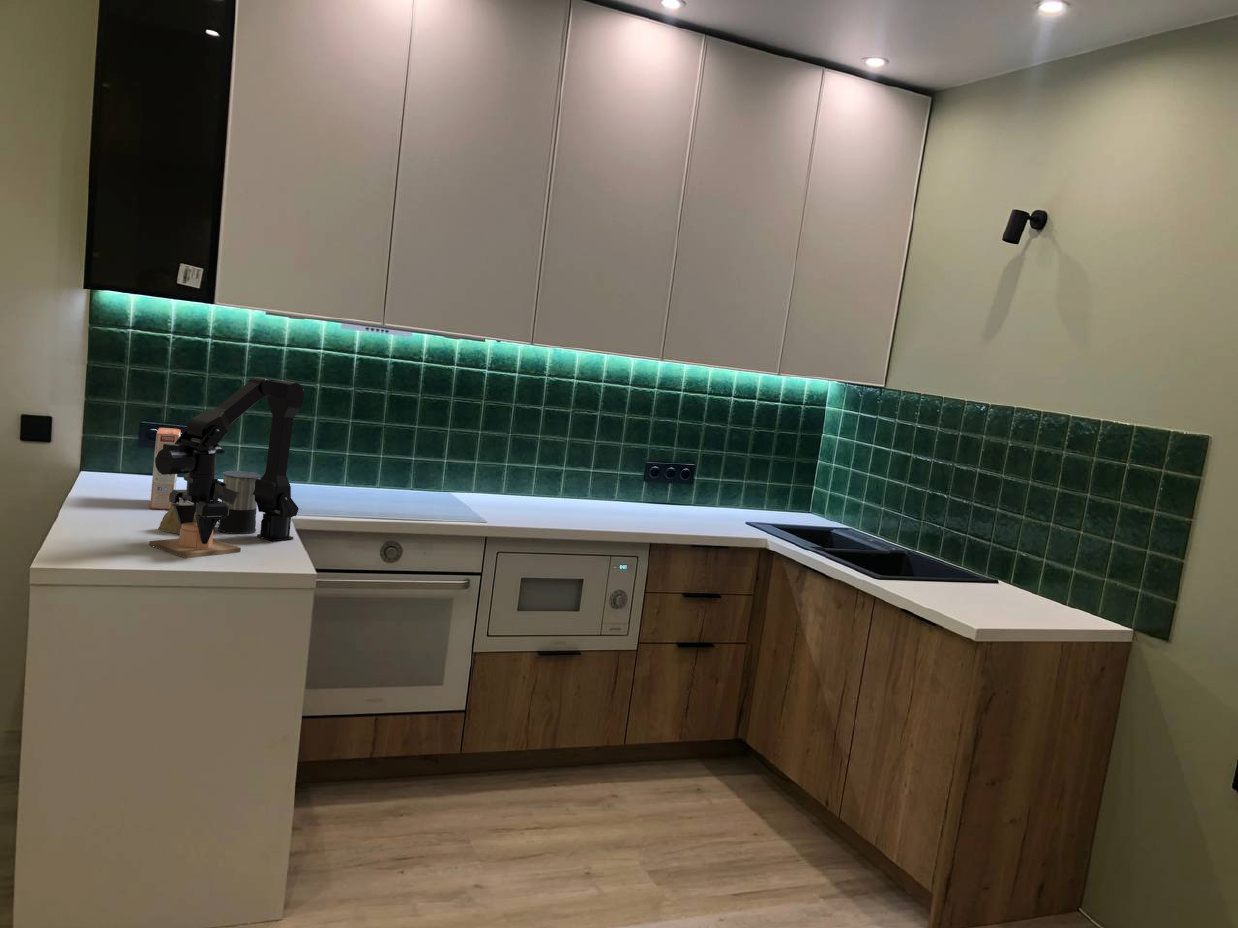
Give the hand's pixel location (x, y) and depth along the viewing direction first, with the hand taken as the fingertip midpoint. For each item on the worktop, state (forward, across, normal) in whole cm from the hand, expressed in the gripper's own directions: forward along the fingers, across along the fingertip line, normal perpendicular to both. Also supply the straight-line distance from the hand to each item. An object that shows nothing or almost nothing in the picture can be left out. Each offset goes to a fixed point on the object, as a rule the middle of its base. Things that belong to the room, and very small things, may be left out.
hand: (195, 539), depth 229 cm
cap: (+1, 0, 0) cm, 1 cm away
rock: (+2, +17, -4) cm, 18 cm away
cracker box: (+2, +52, -14) cm, 53 cm away
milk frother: (+2, +20, -15) cm, 25 cm away
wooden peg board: (+2, 0, 0) cm, 2 cm away
